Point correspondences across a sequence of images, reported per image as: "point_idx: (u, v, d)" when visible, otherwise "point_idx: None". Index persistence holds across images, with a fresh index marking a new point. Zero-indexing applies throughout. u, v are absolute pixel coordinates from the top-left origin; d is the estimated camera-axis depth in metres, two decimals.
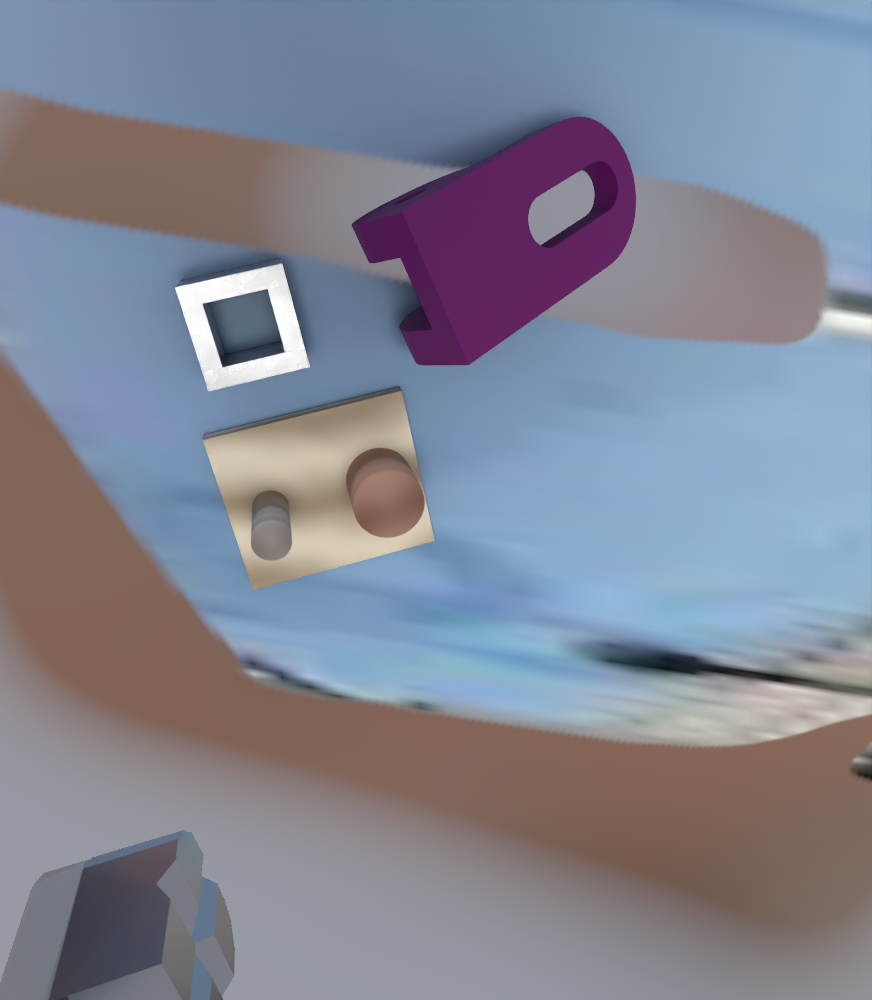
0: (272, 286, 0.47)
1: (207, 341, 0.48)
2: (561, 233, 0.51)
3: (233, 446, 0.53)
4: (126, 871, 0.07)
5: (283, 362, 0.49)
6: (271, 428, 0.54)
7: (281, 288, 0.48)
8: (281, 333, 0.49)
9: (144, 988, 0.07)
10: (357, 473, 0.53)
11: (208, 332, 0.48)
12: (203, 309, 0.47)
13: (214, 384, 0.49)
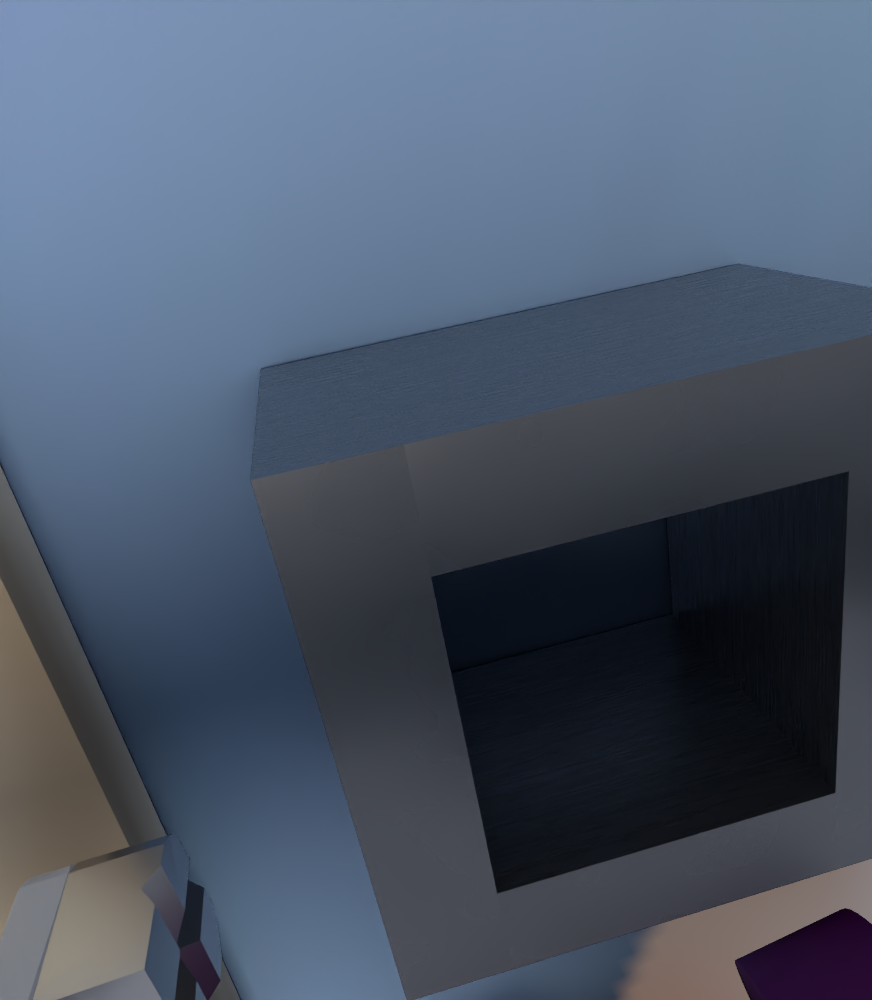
0: (841, 813, 0.09)
1: (618, 492, 0.07)
2: None
3: None
4: (112, 876, 0.07)
5: (441, 892, 0.08)
6: (18, 683, 0.10)
7: (820, 849, 0.09)
8: (602, 867, 0.09)
9: (128, 994, 0.07)
10: None
11: (673, 496, 0.07)
12: (812, 473, 0.07)
13: (306, 522, 0.06)
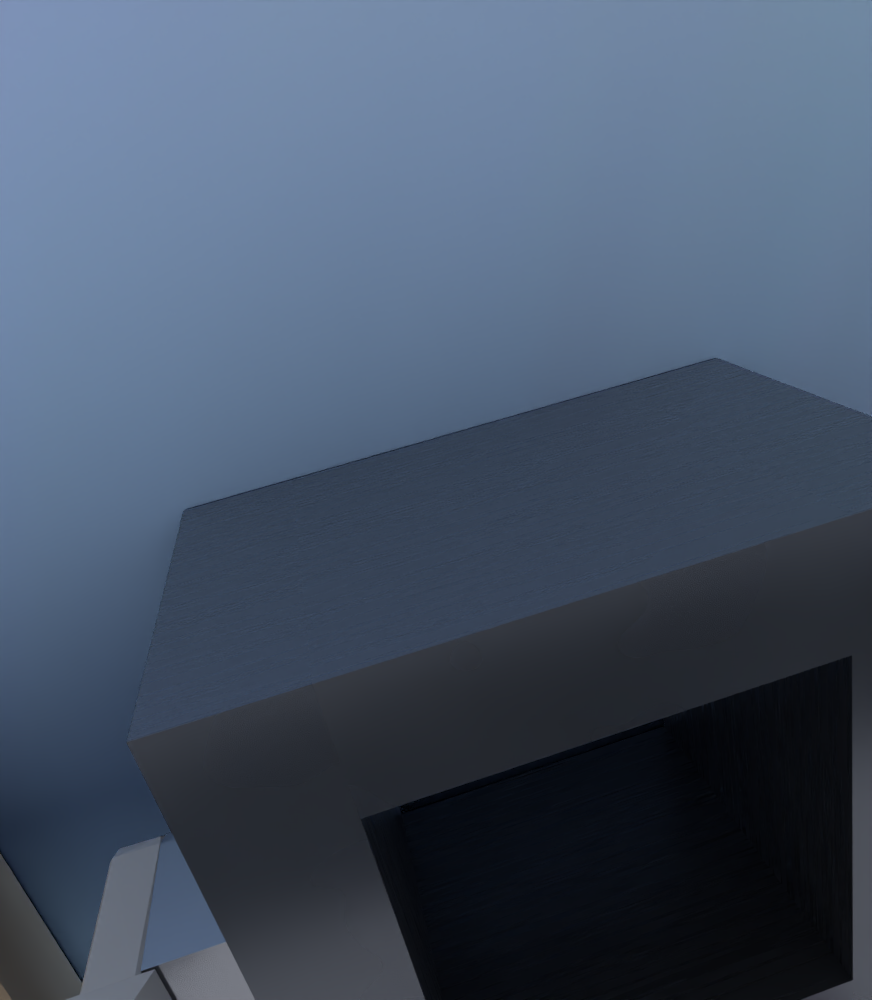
0: (860, 999, 0.08)
1: (579, 706, 0.06)
2: None
3: None
4: None
5: None
6: None
7: None
8: None
9: (233, 958, 0.07)
10: None
11: (644, 703, 0.06)
12: (808, 660, 0.06)
13: (201, 778, 0.05)
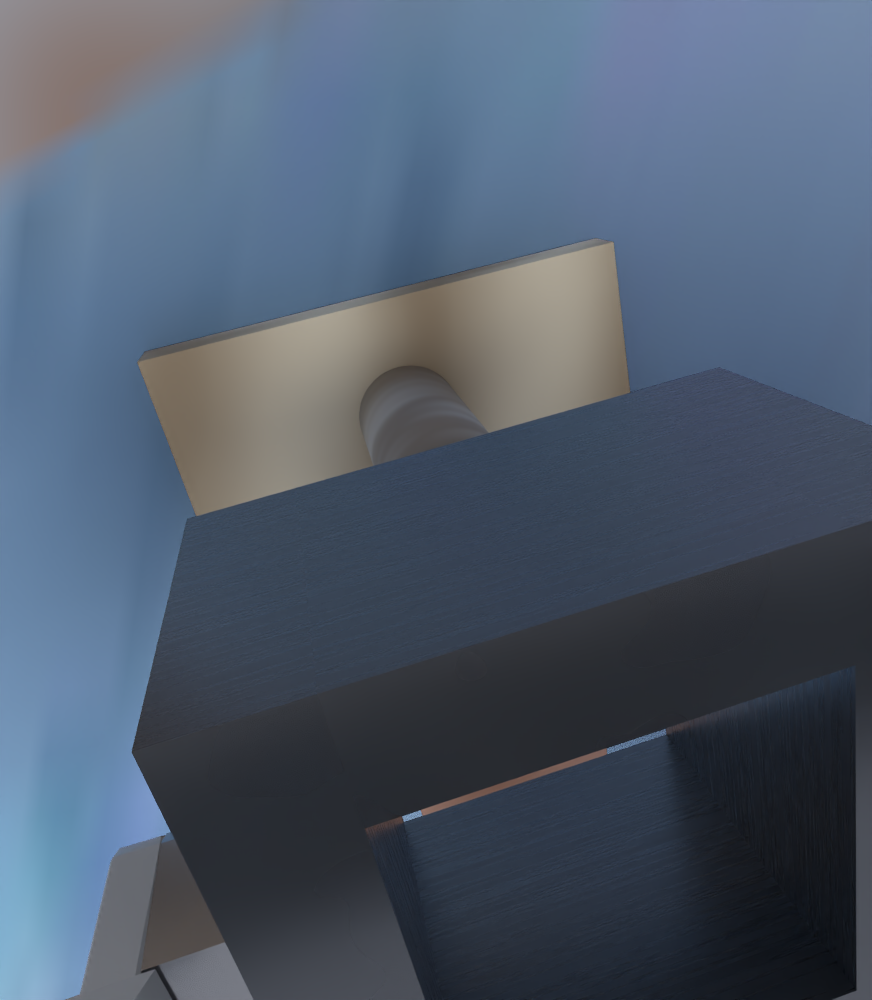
0: None
1: (583, 715, 0.06)
2: None
3: (587, 322, 0.20)
4: None
5: None
6: None
7: None
8: None
9: None
10: None
11: (648, 713, 0.06)
12: (812, 671, 0.06)
13: (205, 788, 0.05)
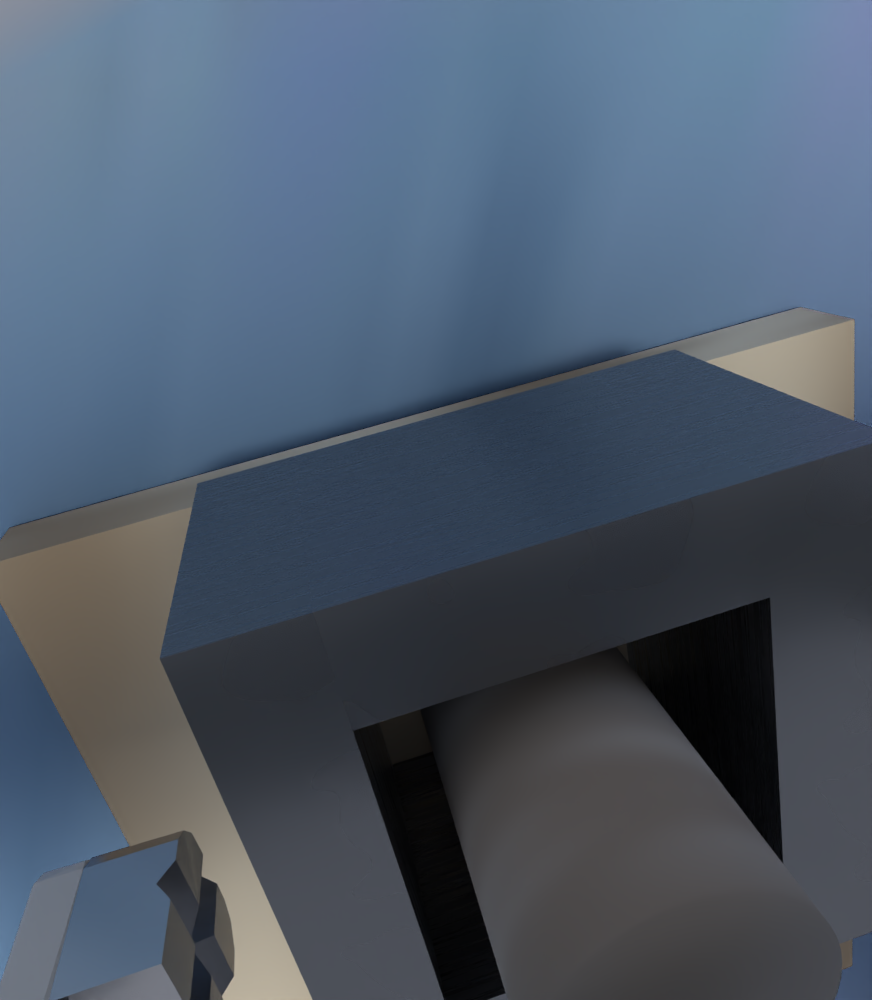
0: None
1: (537, 636, 0.07)
2: None
3: None
4: (126, 871, 0.07)
5: None
6: None
7: None
8: None
9: (144, 988, 0.07)
10: None
11: (592, 635, 0.07)
12: (733, 602, 0.07)
13: (220, 691, 0.06)
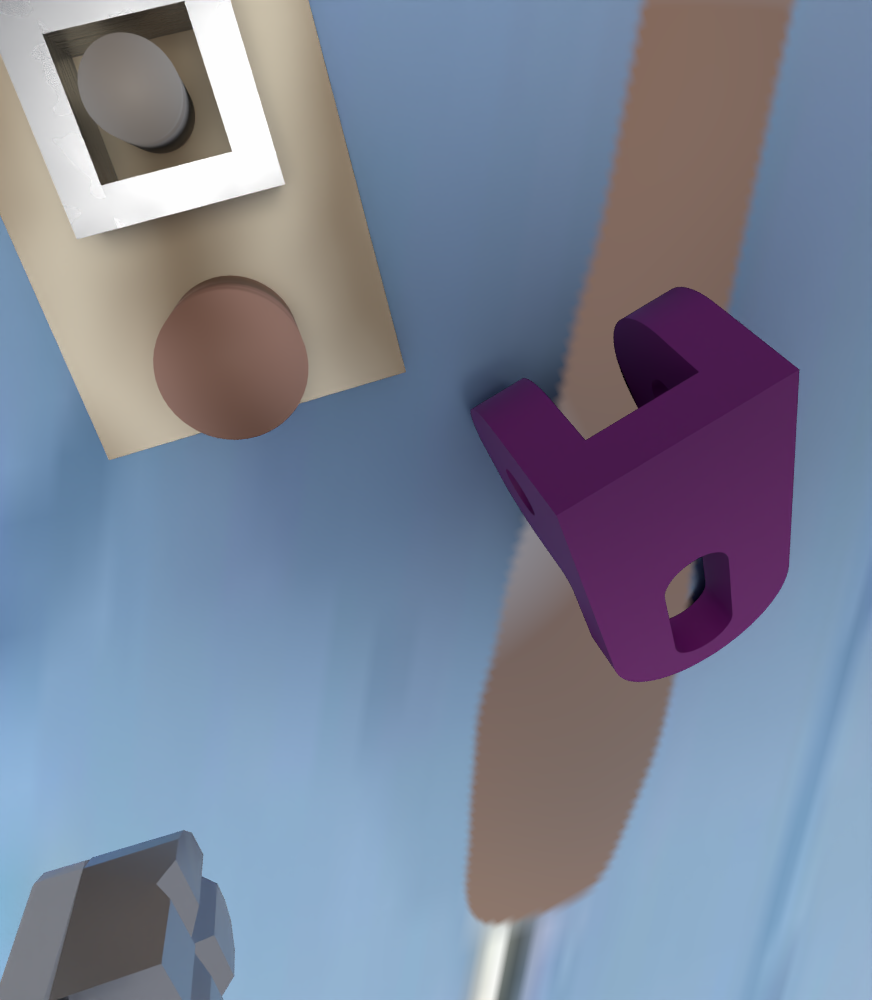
0: (238, 162, 0.24)
1: (100, 4, 0.22)
2: None
3: (289, 36, 0.26)
4: (126, 871, 0.07)
5: (77, 181, 0.23)
6: (329, 122, 0.28)
7: (236, 181, 0.24)
8: (142, 178, 0.23)
9: (145, 988, 0.07)
10: (273, 296, 0.27)
11: (120, 6, 0.22)
12: (171, 2, 0.22)
13: None
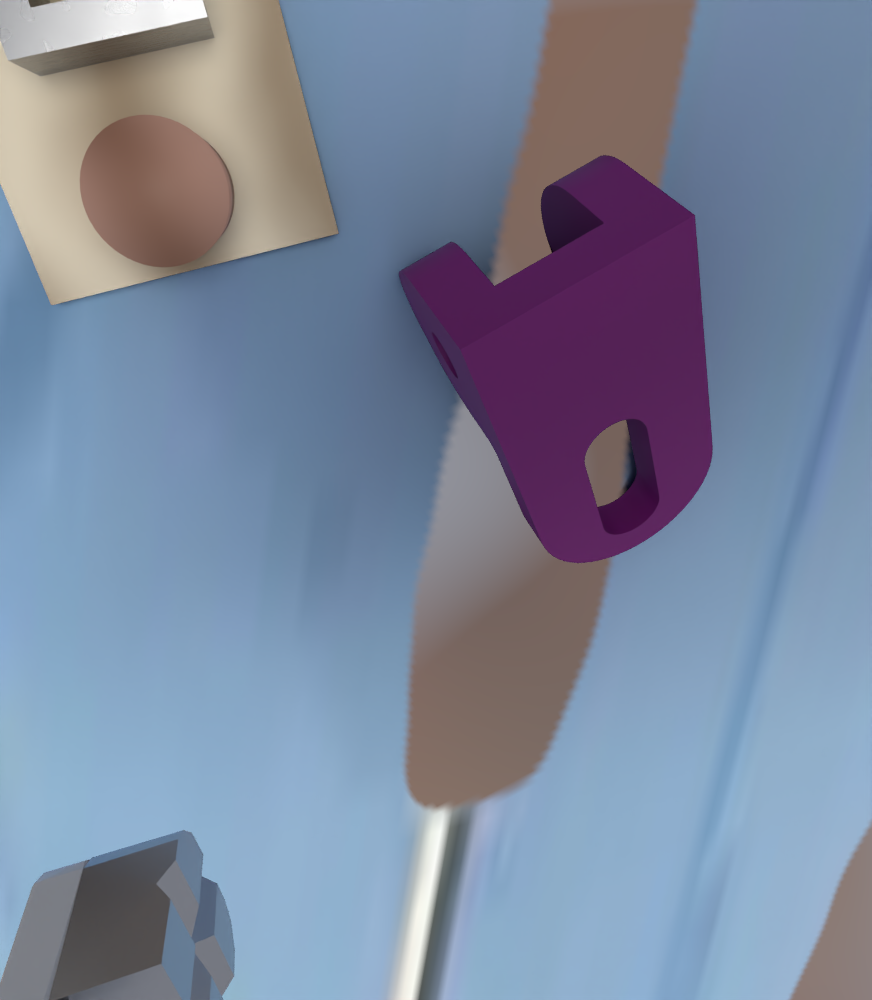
0: None
1: None
2: None
3: None
4: (126, 871, 0.07)
5: (8, 2, 0.24)
6: None
7: (160, 11, 0.25)
8: (69, 2, 0.25)
9: (144, 988, 0.07)
10: None
11: None
12: None
13: None
